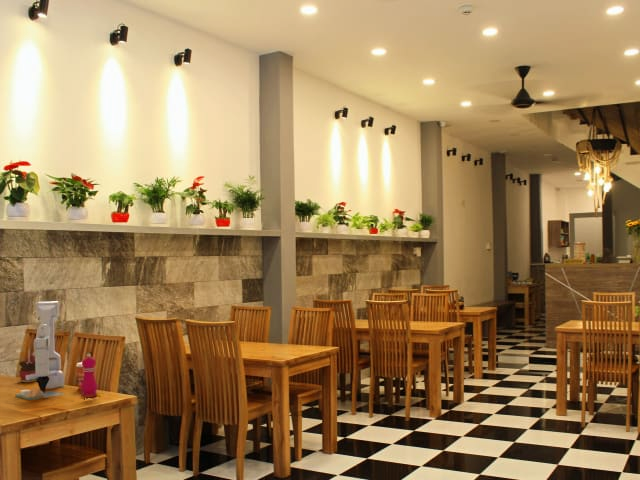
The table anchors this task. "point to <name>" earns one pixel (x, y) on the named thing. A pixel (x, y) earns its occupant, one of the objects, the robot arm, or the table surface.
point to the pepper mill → (89, 377)
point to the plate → (51, 394)
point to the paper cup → (80, 374)
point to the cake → (28, 367)
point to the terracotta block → (36, 393)
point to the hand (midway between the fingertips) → (42, 393)
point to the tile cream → (25, 393)
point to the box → (30, 397)
